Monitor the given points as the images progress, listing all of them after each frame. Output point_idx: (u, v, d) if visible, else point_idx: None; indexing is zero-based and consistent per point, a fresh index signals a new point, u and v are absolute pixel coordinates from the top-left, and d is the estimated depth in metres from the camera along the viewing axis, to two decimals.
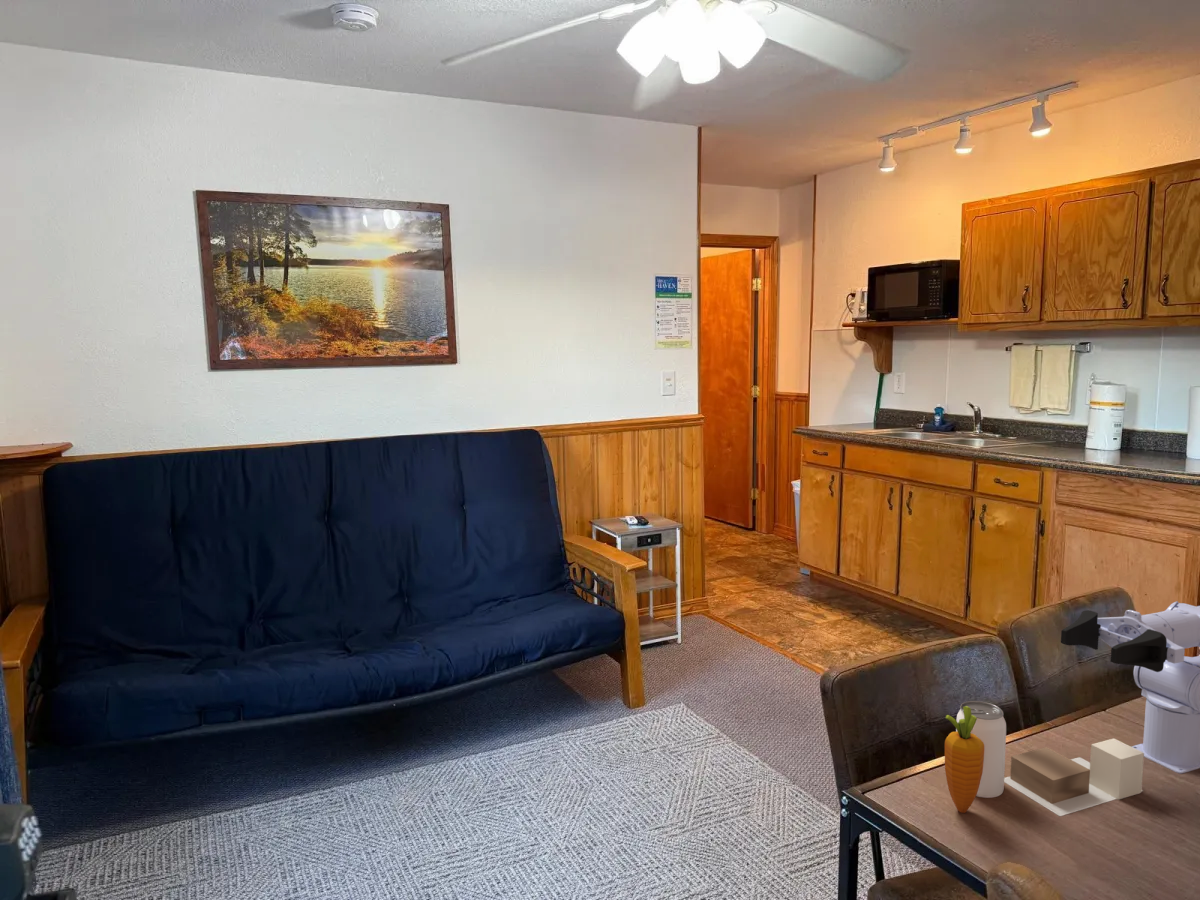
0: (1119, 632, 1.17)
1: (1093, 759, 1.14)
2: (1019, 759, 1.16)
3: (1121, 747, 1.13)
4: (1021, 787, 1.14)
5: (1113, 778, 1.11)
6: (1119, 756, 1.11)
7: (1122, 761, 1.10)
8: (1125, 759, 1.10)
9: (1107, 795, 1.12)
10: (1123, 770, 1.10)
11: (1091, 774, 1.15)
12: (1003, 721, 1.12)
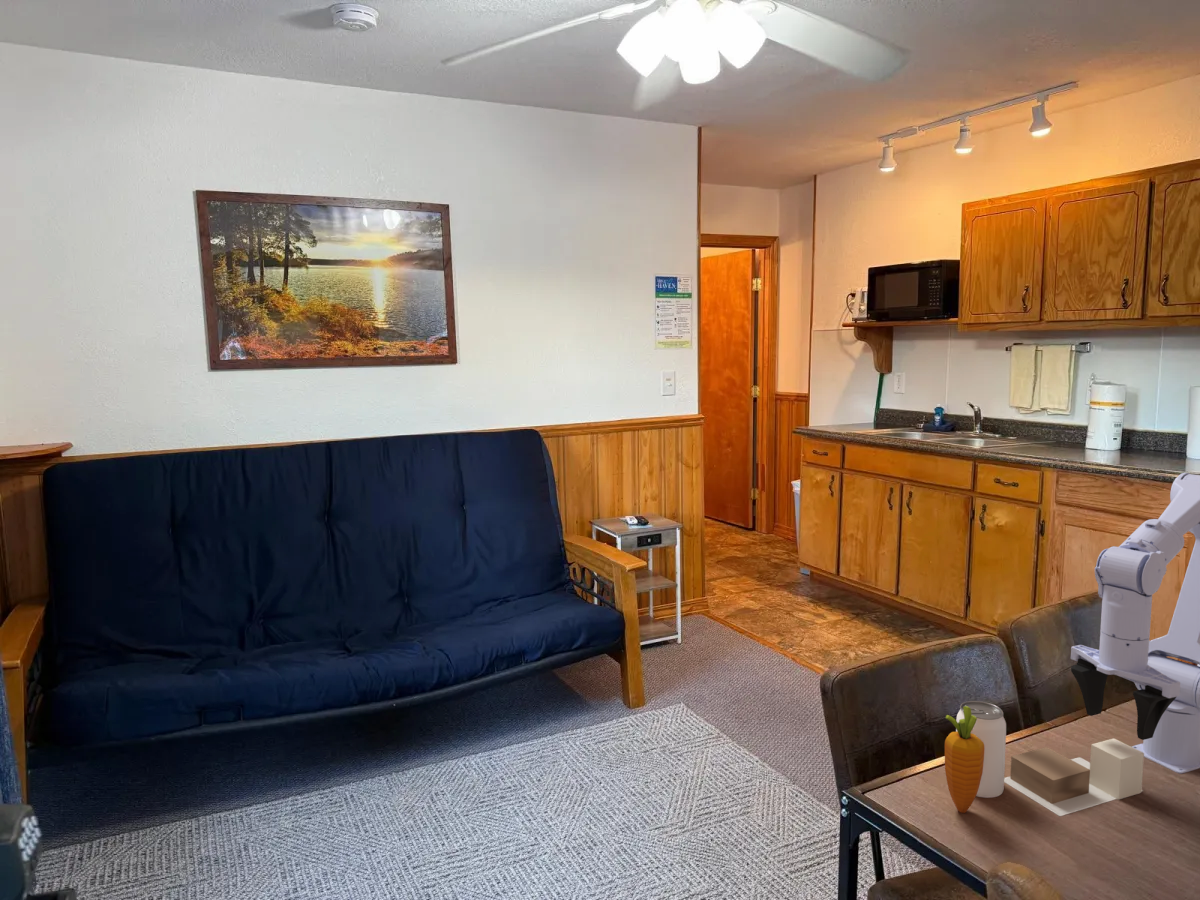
0: None
1: (1093, 759, 1.14)
2: (1019, 759, 1.16)
3: (1121, 747, 1.13)
4: (1021, 787, 1.14)
5: (1113, 778, 1.11)
6: (1119, 756, 1.11)
7: (1122, 761, 1.10)
8: (1125, 759, 1.10)
9: (1107, 795, 1.12)
10: (1123, 770, 1.10)
11: (1091, 774, 1.15)
12: (1003, 721, 1.12)
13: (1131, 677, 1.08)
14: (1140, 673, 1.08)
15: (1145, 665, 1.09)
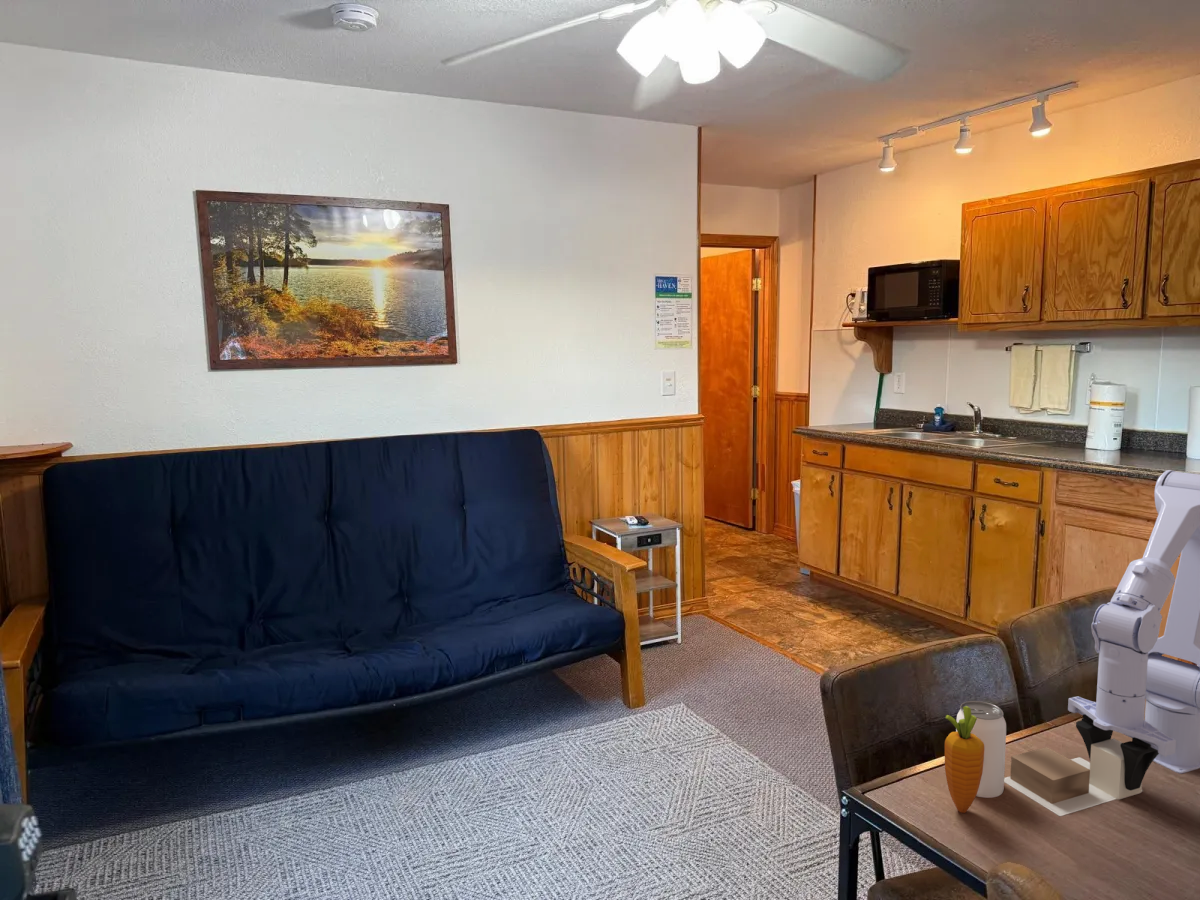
0: None
1: (1093, 759, 1.14)
2: (1019, 759, 1.16)
3: None
4: (1021, 787, 1.14)
5: (1113, 778, 1.11)
6: (1119, 756, 1.11)
7: (1122, 761, 1.10)
8: None
9: (1107, 795, 1.12)
10: (1123, 770, 1.10)
11: (1091, 774, 1.15)
12: (1003, 721, 1.12)
13: (1127, 733, 1.09)
14: (1136, 729, 1.09)
15: (1142, 721, 1.10)
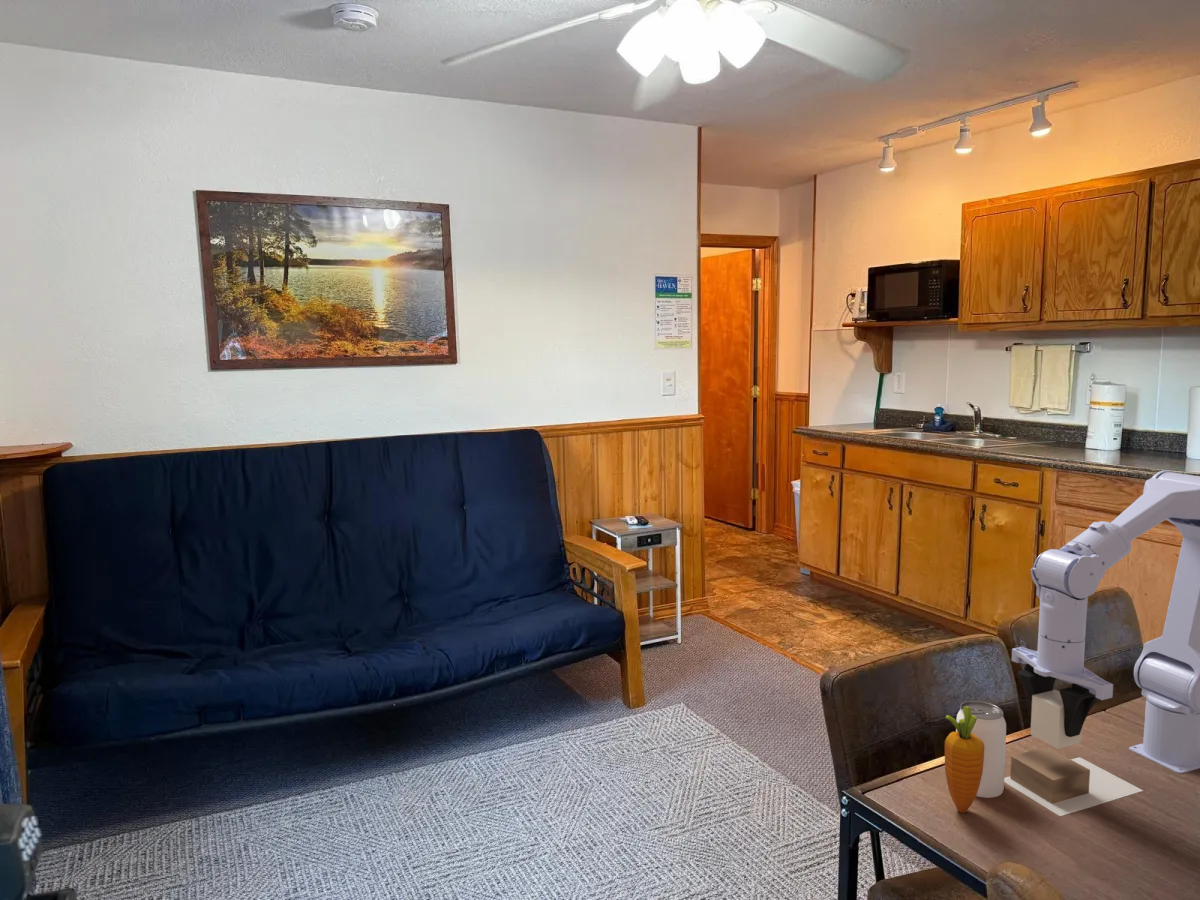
0: None
1: (1034, 710, 1.14)
2: (1019, 759, 1.16)
3: None
4: (1021, 787, 1.14)
5: (1052, 728, 1.11)
6: (1058, 706, 1.11)
7: (1061, 710, 1.10)
8: None
9: (1107, 795, 1.12)
10: (1062, 719, 1.10)
11: (1032, 725, 1.14)
12: (1003, 721, 1.12)
13: (1066, 679, 1.09)
14: (1075, 675, 1.09)
15: (1081, 667, 1.10)
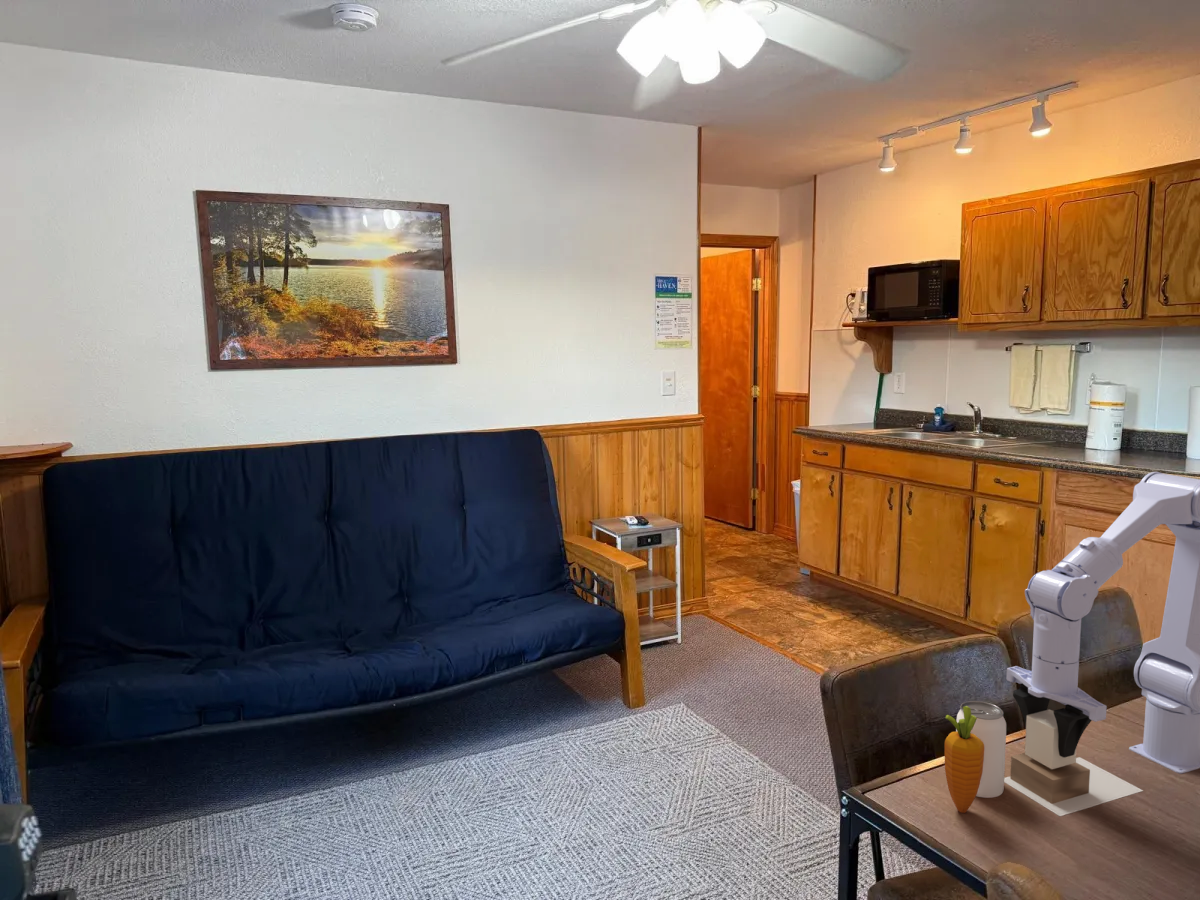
0: None
1: (1029, 730, 1.14)
2: (1019, 759, 1.16)
3: None
4: (1021, 787, 1.14)
5: (1046, 748, 1.12)
6: (1052, 726, 1.11)
7: (1055, 730, 1.11)
8: None
9: (1107, 795, 1.12)
10: (1056, 739, 1.11)
11: (1027, 745, 1.15)
12: (1003, 721, 1.12)
13: (1060, 700, 1.09)
14: (1069, 696, 1.10)
15: (1075, 688, 1.10)
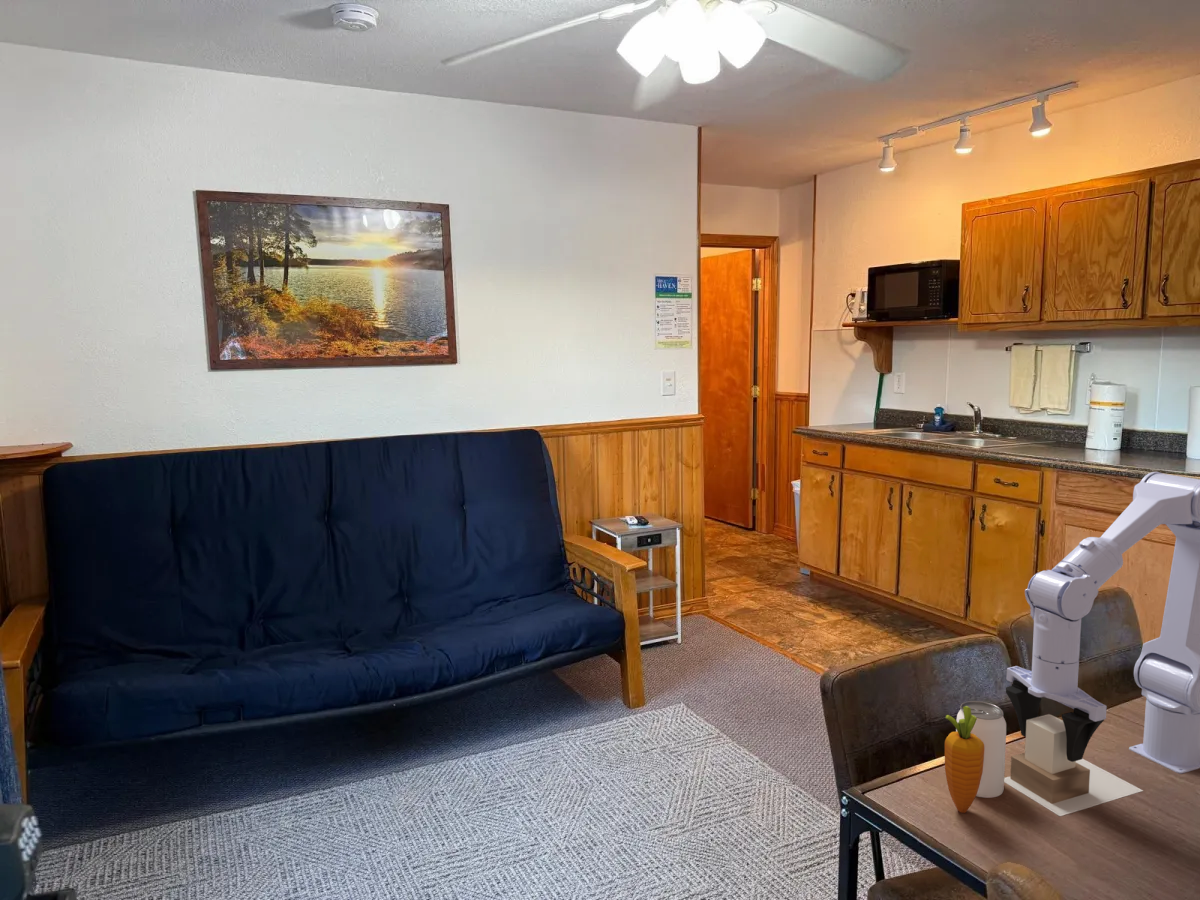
0: None
1: (1029, 735, 1.15)
2: (1019, 759, 1.16)
3: (1056, 722, 1.14)
4: (1021, 787, 1.14)
5: (1046, 753, 1.12)
6: (1052, 731, 1.11)
7: (1055, 735, 1.11)
8: (1058, 734, 1.11)
9: (1107, 795, 1.12)
10: (1056, 744, 1.11)
11: (1026, 750, 1.15)
12: (1003, 721, 1.12)
13: (1060, 700, 1.09)
14: (1069, 696, 1.10)
15: (1075, 688, 1.10)
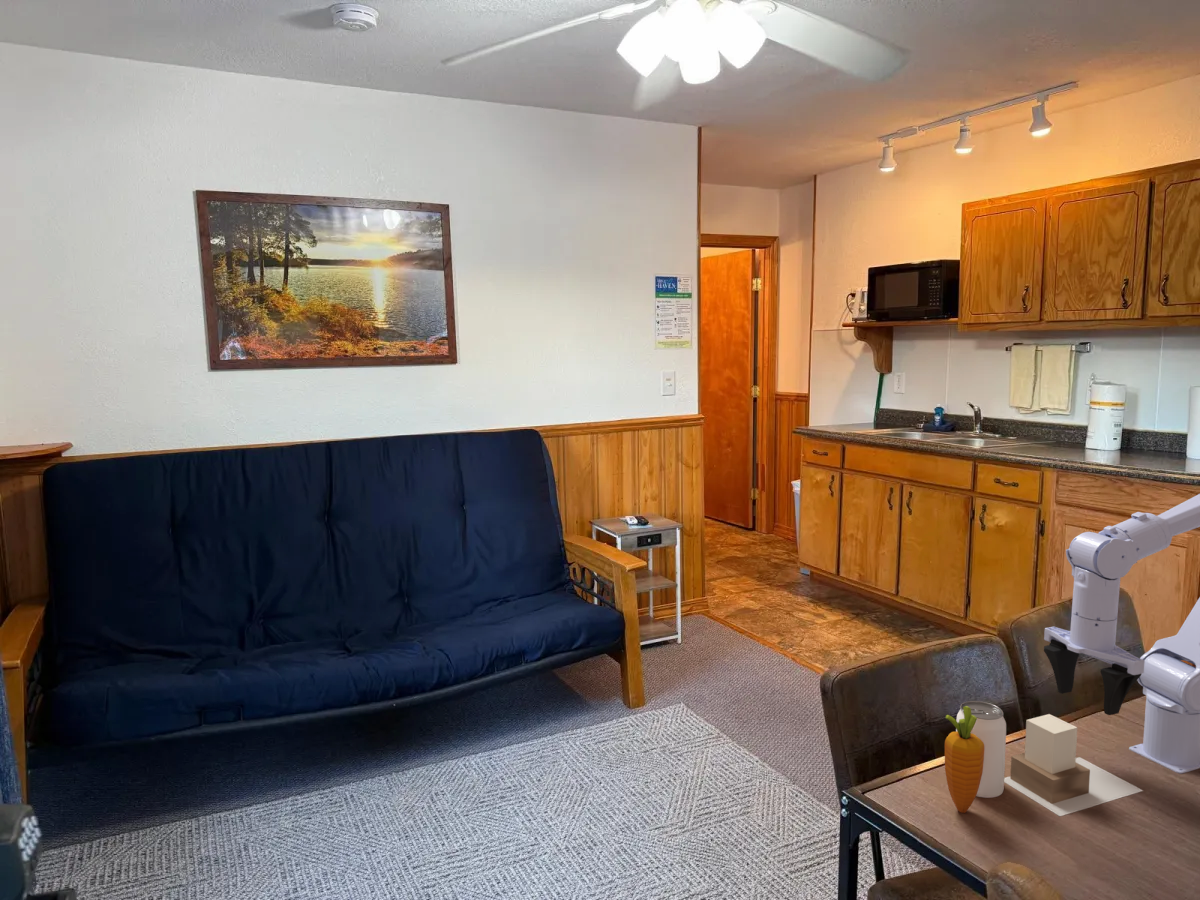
0: None
1: (1029, 735, 1.15)
2: (1019, 759, 1.16)
3: (1056, 722, 1.14)
4: (1021, 787, 1.14)
5: (1046, 753, 1.12)
6: (1052, 731, 1.11)
7: (1055, 735, 1.11)
8: (1058, 734, 1.11)
9: (1107, 795, 1.12)
10: (1056, 744, 1.11)
11: (1026, 750, 1.15)
12: (1003, 721, 1.12)
13: (1099, 655, 1.14)
14: (1108, 652, 1.14)
15: (1113, 645, 1.15)
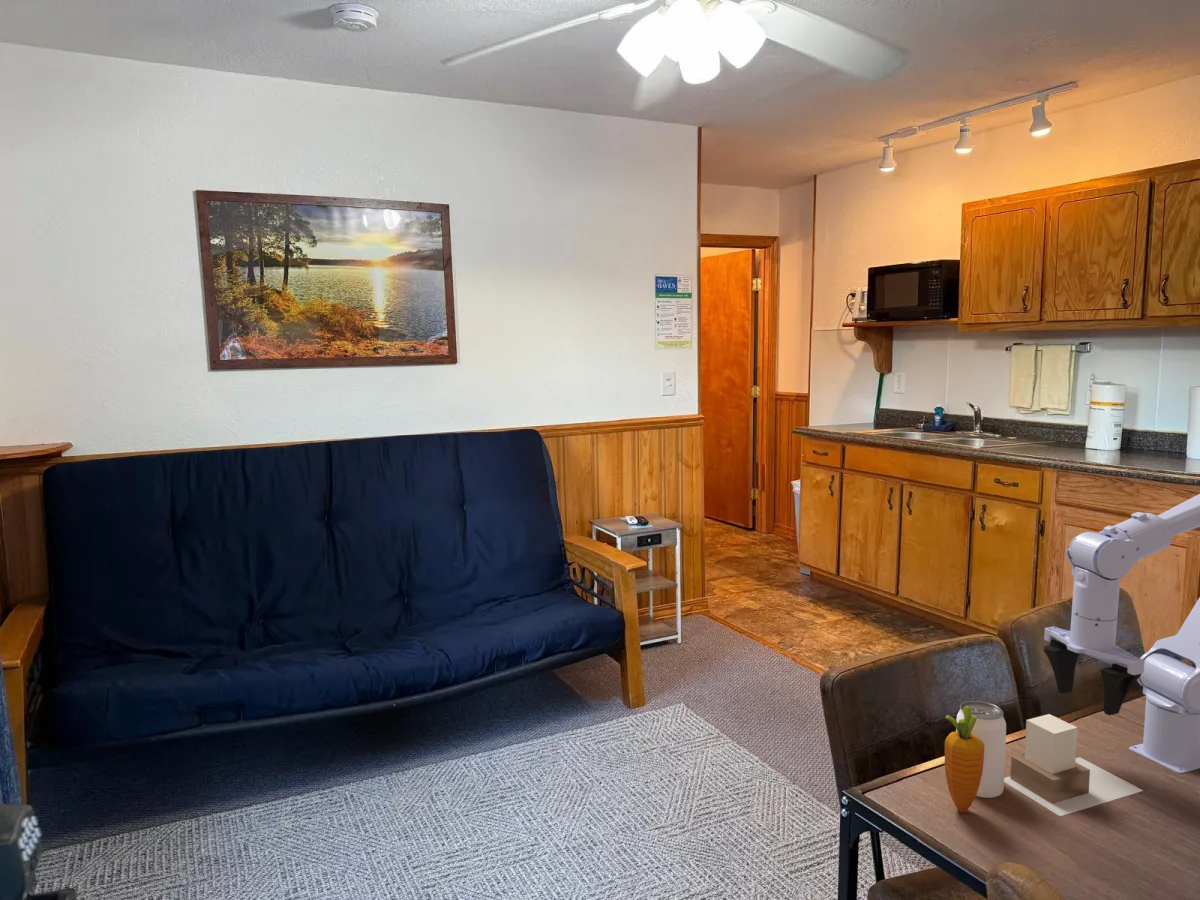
0: None
1: (1029, 735, 1.15)
2: (1019, 759, 1.16)
3: (1056, 722, 1.14)
4: (1021, 787, 1.14)
5: (1046, 753, 1.12)
6: (1052, 731, 1.11)
7: (1055, 735, 1.11)
8: (1058, 734, 1.11)
9: (1107, 795, 1.12)
10: (1056, 744, 1.11)
11: (1026, 750, 1.15)
12: (1003, 721, 1.12)
13: (1099, 655, 1.14)
14: (1108, 652, 1.14)
15: (1113, 645, 1.15)
